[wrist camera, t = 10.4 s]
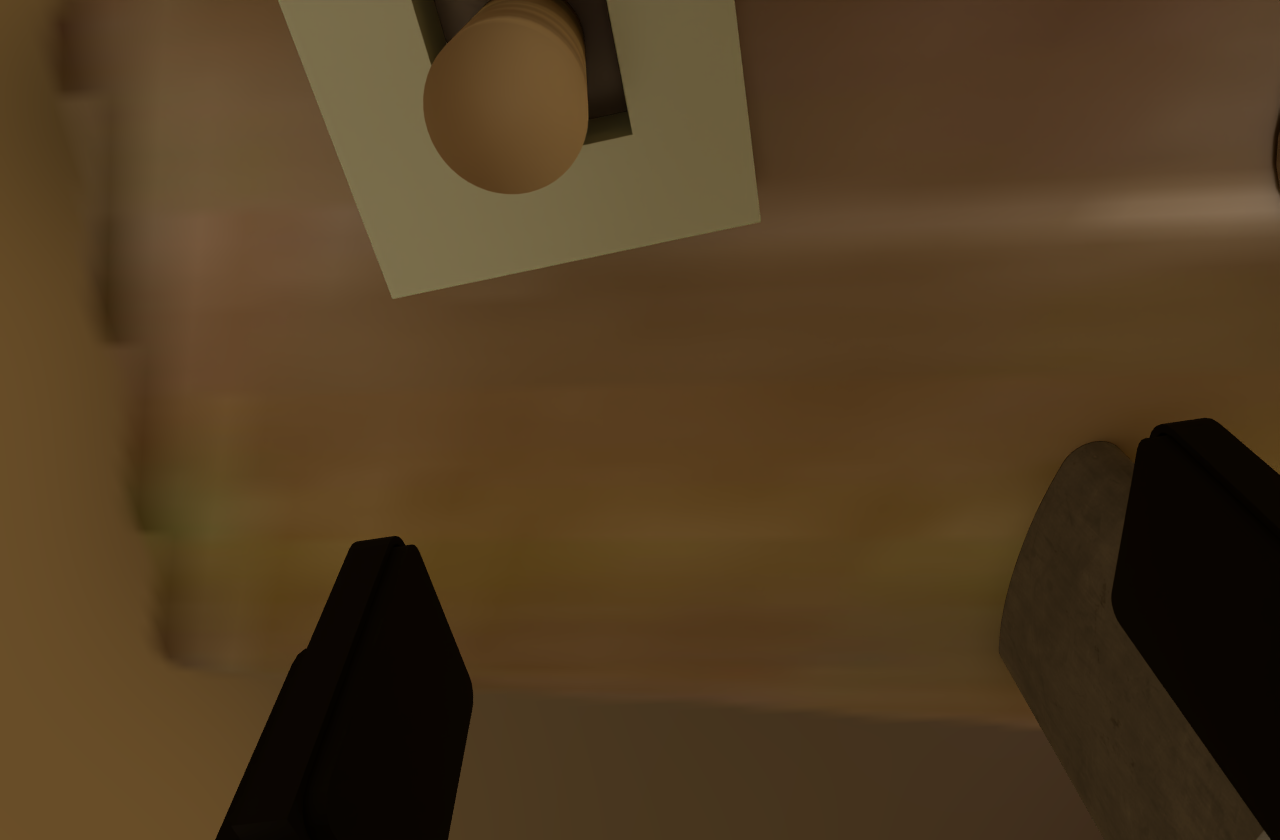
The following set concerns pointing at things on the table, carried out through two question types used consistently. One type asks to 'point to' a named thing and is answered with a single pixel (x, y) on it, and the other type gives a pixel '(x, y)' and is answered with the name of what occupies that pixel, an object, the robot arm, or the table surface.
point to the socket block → (578, 200)
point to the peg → (510, 96)
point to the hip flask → (1106, 671)
